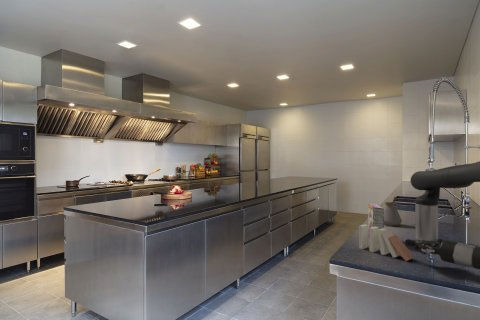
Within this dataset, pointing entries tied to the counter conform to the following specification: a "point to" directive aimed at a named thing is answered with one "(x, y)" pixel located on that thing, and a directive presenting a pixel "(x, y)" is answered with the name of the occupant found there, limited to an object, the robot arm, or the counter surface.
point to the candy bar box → (375, 217)
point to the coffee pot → (391, 214)
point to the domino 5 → (401, 247)
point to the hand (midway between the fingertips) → (406, 241)
